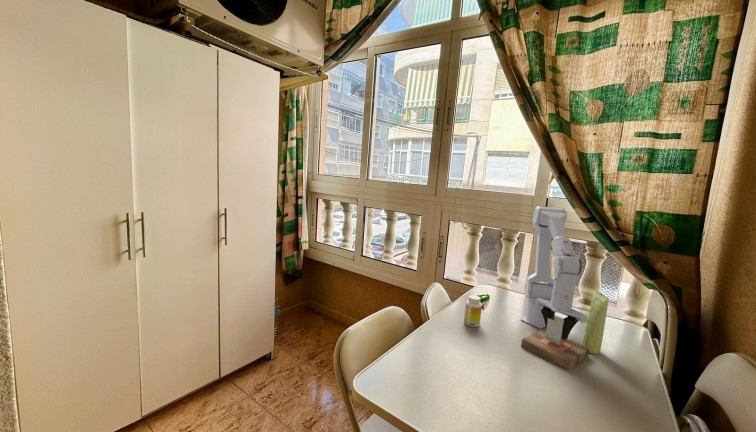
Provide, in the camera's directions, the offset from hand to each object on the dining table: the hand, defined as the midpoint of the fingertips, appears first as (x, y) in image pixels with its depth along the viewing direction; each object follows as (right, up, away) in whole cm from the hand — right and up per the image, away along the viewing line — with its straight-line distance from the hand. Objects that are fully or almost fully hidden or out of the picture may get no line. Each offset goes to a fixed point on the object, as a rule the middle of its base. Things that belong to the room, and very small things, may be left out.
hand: (556, 334), depth 98 cm
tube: (+13, -6, +3) cm, 15 cm away
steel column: (0, -2, 0) cm, 2 cm away
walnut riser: (0, -6, +1) cm, 6 cm away
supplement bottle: (-22, -2, +16) cm, 27 cm away
